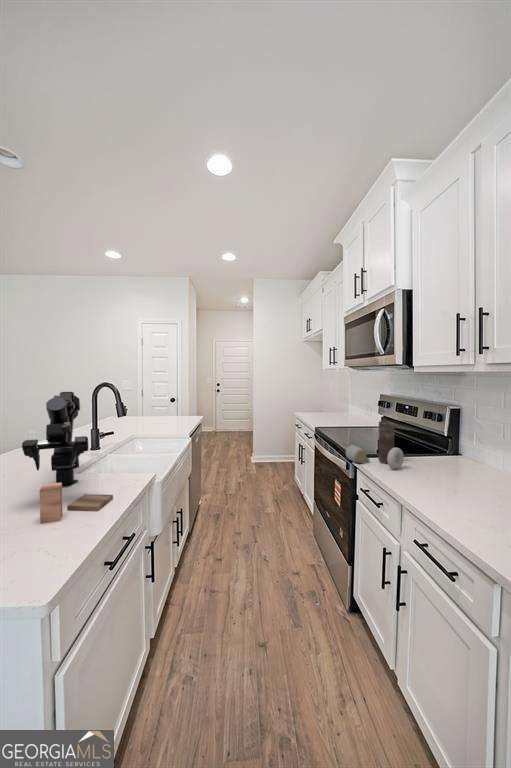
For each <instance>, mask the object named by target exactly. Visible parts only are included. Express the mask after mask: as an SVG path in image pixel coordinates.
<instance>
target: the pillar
mask: <svg viewBox="0 0 511 768" xmlns="http://www.w3.org/2000/svg"><path fill="white" fill-rule="evenodd" d="M62 516H63V486H62V482H61V483H56V482H53V483H46V484H45V483H44V484H42V485H41V487H40V488H39V524H41V525H42V524H49V523H56V522H61V520H62V518H63V517H62Z"/></svg>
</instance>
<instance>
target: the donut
mask: <svg viewBox="0 0 511 768" xmlns="http://www.w3.org/2000/svg"><path fill="white" fill-rule="evenodd" d="M404 459H405V458H404V452H403V450H402V449H401V448H399V447H395V446H394V448H392V449H391V450H390V451H389V453H388V457H387V462H388V463H387V464H388V466H389V467H390V469H393V470H398V469H400V468H401V467H402V466H403V463H404Z"/></svg>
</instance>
